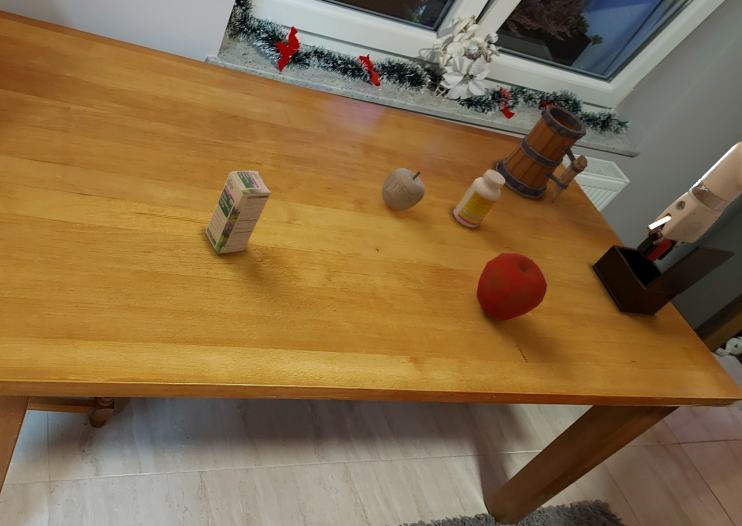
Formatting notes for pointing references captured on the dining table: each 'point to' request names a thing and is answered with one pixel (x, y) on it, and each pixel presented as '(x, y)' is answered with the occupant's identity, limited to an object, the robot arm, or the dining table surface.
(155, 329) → the dining table surface
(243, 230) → the syrup box
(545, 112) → the mug
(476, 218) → the supplement bottle
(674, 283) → the lid
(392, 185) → the decorative object
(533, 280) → the apple
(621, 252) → the black flip-top box
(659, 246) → the red black block
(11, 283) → the dining table surface
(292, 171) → the dining table surface
